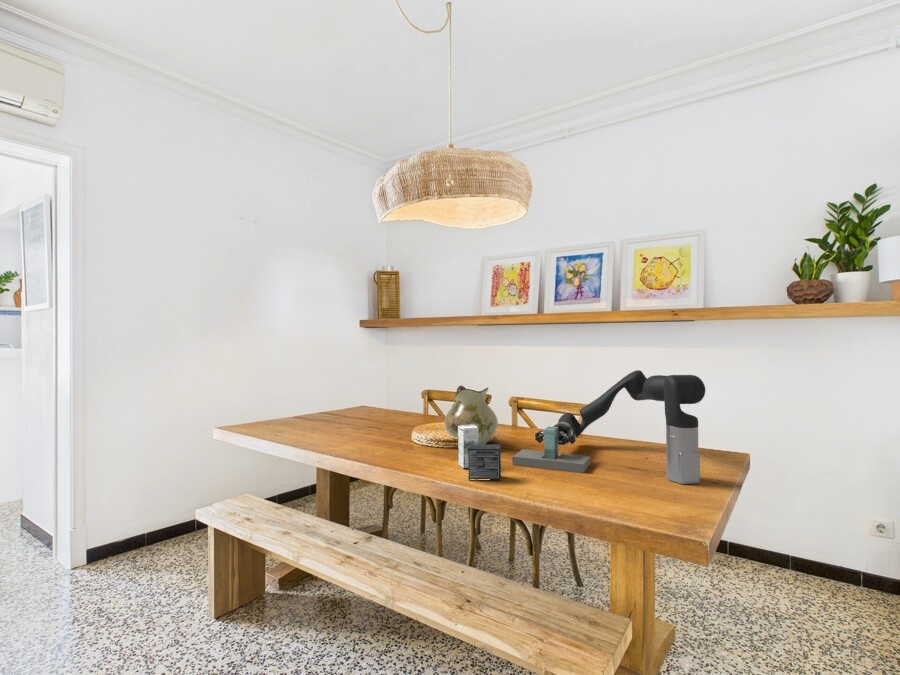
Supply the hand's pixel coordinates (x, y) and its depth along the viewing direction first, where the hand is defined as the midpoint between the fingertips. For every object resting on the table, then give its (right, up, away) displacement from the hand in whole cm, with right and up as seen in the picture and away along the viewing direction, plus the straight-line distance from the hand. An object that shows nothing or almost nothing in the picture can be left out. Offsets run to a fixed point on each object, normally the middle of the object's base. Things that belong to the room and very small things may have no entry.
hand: (550, 441), depth 170 cm
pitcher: (-28, -9, +32) cm, 43 cm away
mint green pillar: (0, -8, +1) cm, 9 cm away
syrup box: (-29, -9, -1) cm, 31 cm away
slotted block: (0, -8, +1) cm, 9 cm away
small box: (-25, -9, -15) cm, 30 cm away
